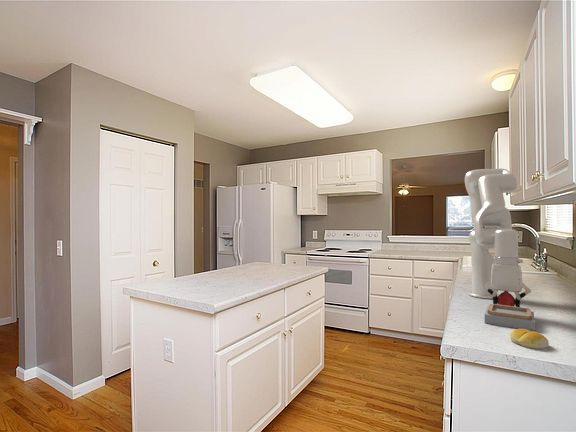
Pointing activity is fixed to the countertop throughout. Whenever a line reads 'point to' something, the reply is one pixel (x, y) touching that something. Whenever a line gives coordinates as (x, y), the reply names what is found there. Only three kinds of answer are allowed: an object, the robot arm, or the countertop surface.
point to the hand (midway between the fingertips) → (506, 307)
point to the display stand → (510, 316)
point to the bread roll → (529, 339)
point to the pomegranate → (506, 299)
